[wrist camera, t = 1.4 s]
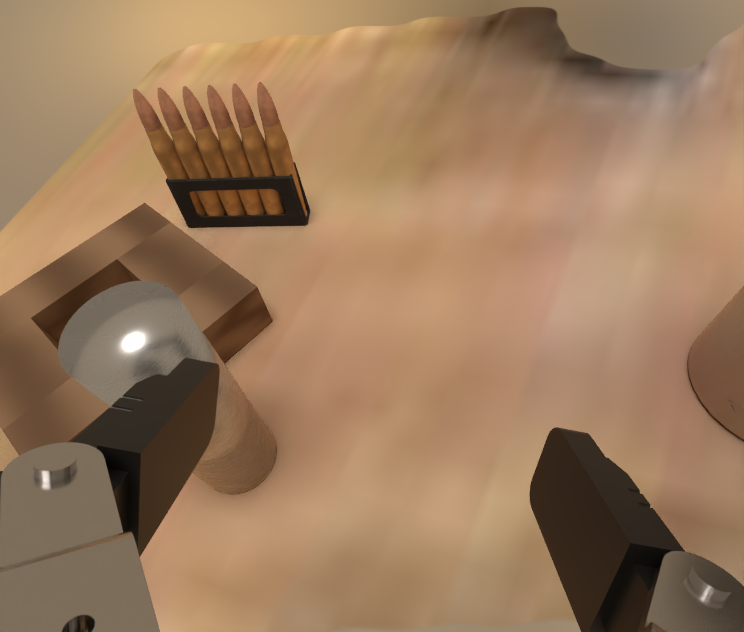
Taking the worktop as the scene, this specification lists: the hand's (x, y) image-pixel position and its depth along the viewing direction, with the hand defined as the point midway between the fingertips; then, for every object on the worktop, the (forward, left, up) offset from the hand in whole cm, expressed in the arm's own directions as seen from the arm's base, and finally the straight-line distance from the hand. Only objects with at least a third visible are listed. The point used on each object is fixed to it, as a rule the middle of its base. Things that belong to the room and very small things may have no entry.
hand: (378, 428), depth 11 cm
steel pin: (+2, -11, -17) cm, 20 cm away
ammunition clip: (-12, -27, -17) cm, 34 cm away
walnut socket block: (+2, -24, -17) cm, 29 cm away
